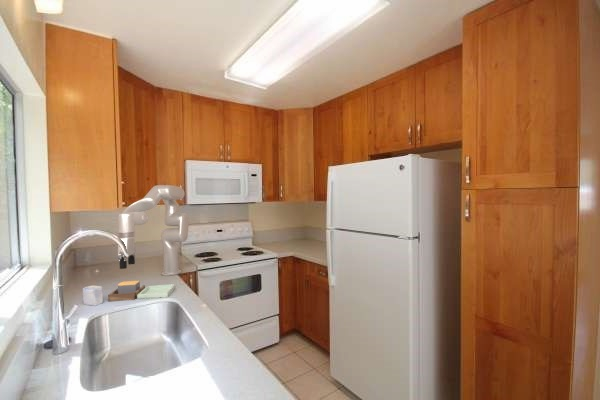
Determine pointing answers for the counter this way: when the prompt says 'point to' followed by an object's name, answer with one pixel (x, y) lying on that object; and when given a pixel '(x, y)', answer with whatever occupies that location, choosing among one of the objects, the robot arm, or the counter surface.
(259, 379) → the counter surface
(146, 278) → the counter surface
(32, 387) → the counter surface
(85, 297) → the medicine box
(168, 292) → the tray
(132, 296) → the bay
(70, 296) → the counter surface
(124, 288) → the caddy
